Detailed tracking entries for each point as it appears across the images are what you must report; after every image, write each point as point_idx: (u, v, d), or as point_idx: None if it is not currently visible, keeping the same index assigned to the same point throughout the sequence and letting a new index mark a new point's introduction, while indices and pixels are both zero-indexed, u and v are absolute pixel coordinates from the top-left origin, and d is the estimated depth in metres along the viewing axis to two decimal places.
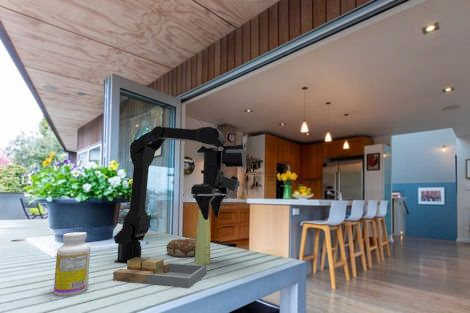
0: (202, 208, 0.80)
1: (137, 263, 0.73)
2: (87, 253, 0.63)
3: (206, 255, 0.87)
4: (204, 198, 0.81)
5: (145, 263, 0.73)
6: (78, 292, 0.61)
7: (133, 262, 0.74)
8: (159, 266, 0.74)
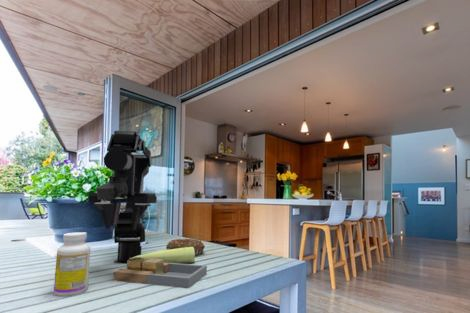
0: None
1: (137, 263, 0.73)
2: (87, 253, 0.63)
3: (185, 249, 0.88)
4: None
5: (145, 263, 0.73)
6: (78, 292, 0.61)
7: (133, 262, 0.74)
8: (159, 266, 0.74)
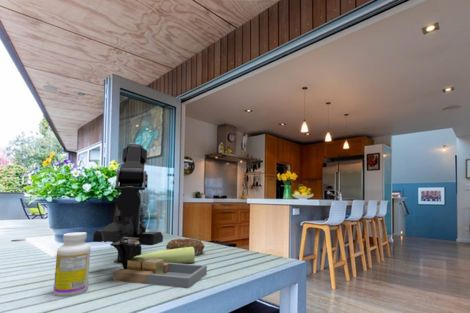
0: None
1: (137, 263, 0.73)
2: (87, 253, 0.63)
3: (185, 249, 0.88)
4: None
5: (145, 263, 0.73)
6: (78, 292, 0.61)
7: (133, 262, 0.74)
8: (159, 266, 0.74)
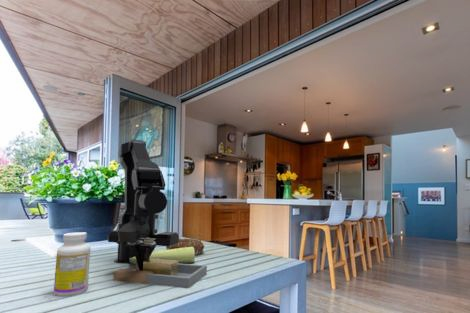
0: None
1: (153, 264, 0.72)
2: (87, 253, 0.63)
3: (185, 249, 0.88)
4: None
5: (160, 264, 0.72)
6: (78, 292, 0.61)
7: (149, 263, 0.72)
8: (174, 268, 0.72)
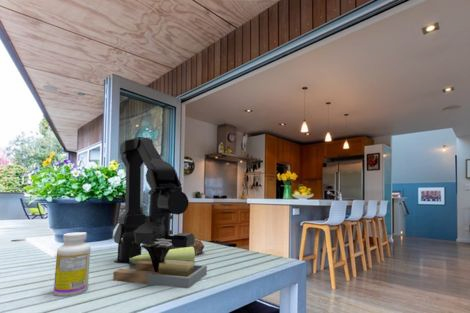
0: None
1: (170, 265, 0.71)
2: (87, 253, 0.63)
3: (185, 249, 0.88)
4: None
5: (176, 266, 0.71)
6: (78, 292, 0.61)
7: (165, 265, 0.71)
8: (190, 269, 0.71)
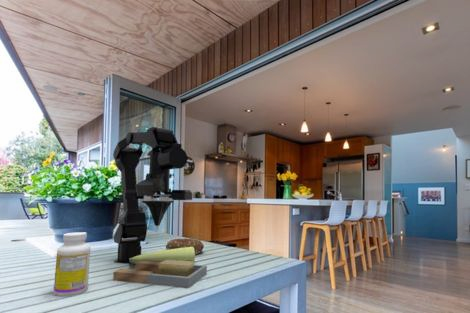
0: None
1: (170, 265, 0.71)
2: (87, 253, 0.63)
3: (185, 249, 0.88)
4: None
5: (176, 266, 0.71)
6: (78, 292, 0.61)
7: (165, 265, 0.71)
8: (190, 269, 0.71)
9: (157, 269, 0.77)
